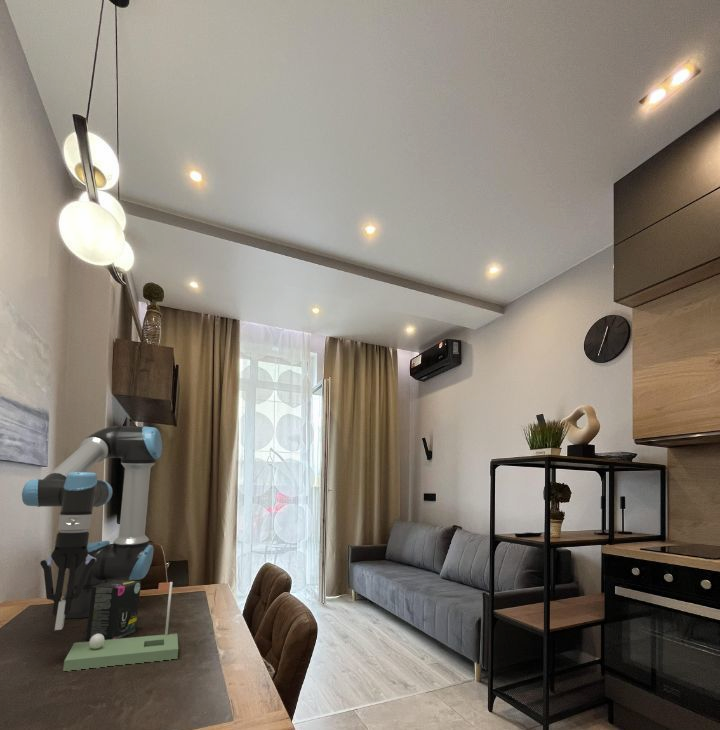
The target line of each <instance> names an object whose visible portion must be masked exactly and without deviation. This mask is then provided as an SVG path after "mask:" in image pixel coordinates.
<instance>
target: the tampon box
mask: <svg viewBox="0 0 720 730" xmlns="http://www.w3.org/2000/svg"><path fill="white" fill-rule="evenodd" d="M141 588H142V581H139V580H131V581H129V580H109V581H107V582H104V583H103V584H99V585H95V586H93V587H92V594H91V601H90V609H89V617H87V618H88V619H87V624H86V625H87V627H86V634H85V640H86V641H90V639H91V637H92V636H93V635H95V634H102V635H103V636H104V639H105V640H111V639H122V638H126V637H127V635H128V636H130V635H132V634H135V633H136V629H137V628H136V627H137V620H138V613H139V612H138V611H139V602H140V594H141ZM134 632H135V633H134Z"/></svg>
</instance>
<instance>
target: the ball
mask: <svg viewBox="0 0 720 730" xmlns="http://www.w3.org/2000/svg"><path fill="white" fill-rule="evenodd" d="M104 640H105V639H104V636H103V635H102V634H95V635H93V636H92V637H91V639H90V640H88V642H89V645H90V647H91V648H93V649H98V648H100V647H101V646H102V645H103V643H104Z"/></svg>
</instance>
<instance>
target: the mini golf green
mask: <svg viewBox="0 0 720 730" xmlns="http://www.w3.org/2000/svg"><path fill="white" fill-rule="evenodd" d="M173 584H174V583H173V581H170V582H159V583H158V590H157V592H168V598H167V599H168V600H167V608H166V609H167V610H166V617H165V618H166V621H165V631H164V634H157V635H155V634H154V635H145V636H136V637H123V638H121V639H111V640H104V643H103V645H102V646H101V647H100V648H98V649H93V648H91V647H90V645H89V641H82V642H81V641H79V642H74V643H73V644H72V646H71V648H70V650H69V651H68V653H67V656H66V657H65V659H64V660H63V668H62V669H63V670H62V672H63V671H68V672H72V671H71V670H77V671H82V670H81V669H86V670H90V669H89V668H96V669H101V668H100V667H105V668H108V667H107V666H114V667H116V666H115V665H123V666H126V665H125V664H132V665H136V664H135V663H142V664H145V663H144V662H151V663H155V662H154V661H160V662H164V661H163V660H169V661H172V660H171V659H177V660H178V659H179V658H178V657H179V642H178V641H179V639H178V633H169V634H168V632H169V631H168V630H169V622H170V612H171V611H170V610H171V602H172V594H173V593H172V591H173Z"/></svg>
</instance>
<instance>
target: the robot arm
mask: <svg viewBox="0 0 720 730" xmlns="http://www.w3.org/2000/svg"><path fill="white" fill-rule="evenodd" d="M78 447H79V448H78V449H76V450H75V451H74V452H73V453H72V454H70V456H69V457H66V459H65V460H63V461H62V462H61V463H60V464H59V465H58V466H57V467H56V468H54V469H53V470H52V471H51V472H50V473H48V474H47V475H46V476H45V477H44V478H43V479H41V478H36V479H29V480H28V481H27V482H25V484H24V485H23V488H22V491H21V498H22V503H23V504H24V506H28V507H38V508H40V507H61V508H60V511H59V512H60V513H59V519H58V525H57V530H58V532H57V533H56V538H55V543H54V544H55V545H54V550H53V551H52V552H51V555H50V556H49V557H47V558H44V559H43V560H41V561H40V564H39V565H40V566H41V568H42V570H43V576H44V584H45V585H44V587H45V595H46V599H47V600H48V601H49V600H51V601H53V607H52V616H56V618H55V625H54V631H60V630H62V629H63V628H64V625H65V619H82V618H83V619H84V618H88V617H89V609H90V601H91V594H92V587H93V586H95V585H99V584H103V583H106V582H105V581H114V580H123V581H125V580H127V581H139V580H142V579H144V578H145V577H146V575H148V572H149V570H150V567H151V565H152V561H153V559H154V558H153V557H154V551H155V550H154V546H153V545H151V544H149V543H150V542H149V541H150V539H149V538H148V536H147V535H146V527H147V526H146V525H147V516H148V515H147V513H148V503H149V502H148V500H149V489H150V480H151V479H150V478H151V469H152V467H153V466H155V464H156V460H159V459H160V458H161V456H162V452H163V440H162V435H161V432H160V430H159V429H158V428H156V427H155V426H154V427H152V426H151V427H150V426H145V425H144V426H129V425H128V426H127V425H122V426H121V425H113V426H109V427H105V428H101V429H100V430H97V431H95V432H94V433H92V434H90V435H89V436H86V437H85V438H84V439H83V440H82V441H81V442H80V444H79V446H78ZM112 458H113V459H114V458H115V459H120V464H121V465H122V466H123V468H124V476H123V477H124V478H123V485H122V499H121V506H120V507H121V509H120V520H119V530H118V536H117V537H116V538H115V539H114V540H113V543H112V544H111V543H110V540H100V541H91V542H89V538H90V532H89V531H88V530H90V529H91V522H92V517H93V509H94V508H98V507H102V506H103V505H104V506H105V505H106V504H107V503H109V502H110V500H111V498H112V496H113V487H112V486H111V484H110V483H108V482H107V481H105V480H103V479H98V475H97V473H96V472H89V471H90V470H92V468H93V467H95V465H96V464H97V463H100V462H102V461H104V460H106V459H112ZM53 562H54V564H55V565H56V567H57V568H58V571H57V579H56V584H55V585H56V587H55V591H54V581H53V573H52V564H53ZM67 569H68V574H67V575H68V576H67V582H66V588H65V592H64V594H63V591H64V590H63V589H64V584H65V583H64V582H65V578H66V577H65V575H66V571H67Z"/></svg>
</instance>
